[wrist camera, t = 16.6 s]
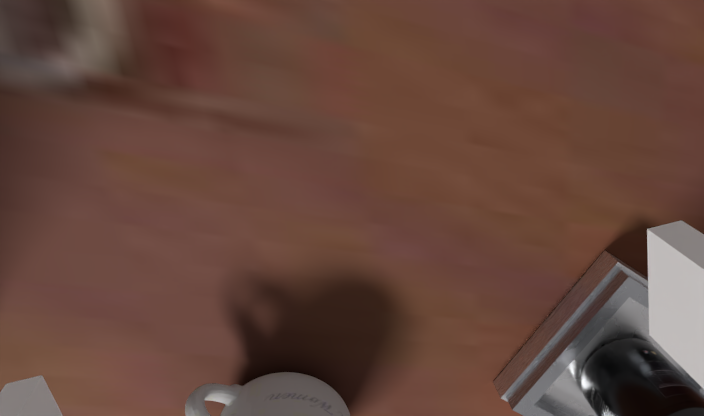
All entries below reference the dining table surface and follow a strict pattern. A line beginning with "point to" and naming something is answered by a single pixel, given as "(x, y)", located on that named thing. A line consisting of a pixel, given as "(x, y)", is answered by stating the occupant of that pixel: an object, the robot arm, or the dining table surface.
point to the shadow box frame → (578, 340)
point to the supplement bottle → (637, 382)
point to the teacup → (270, 397)
